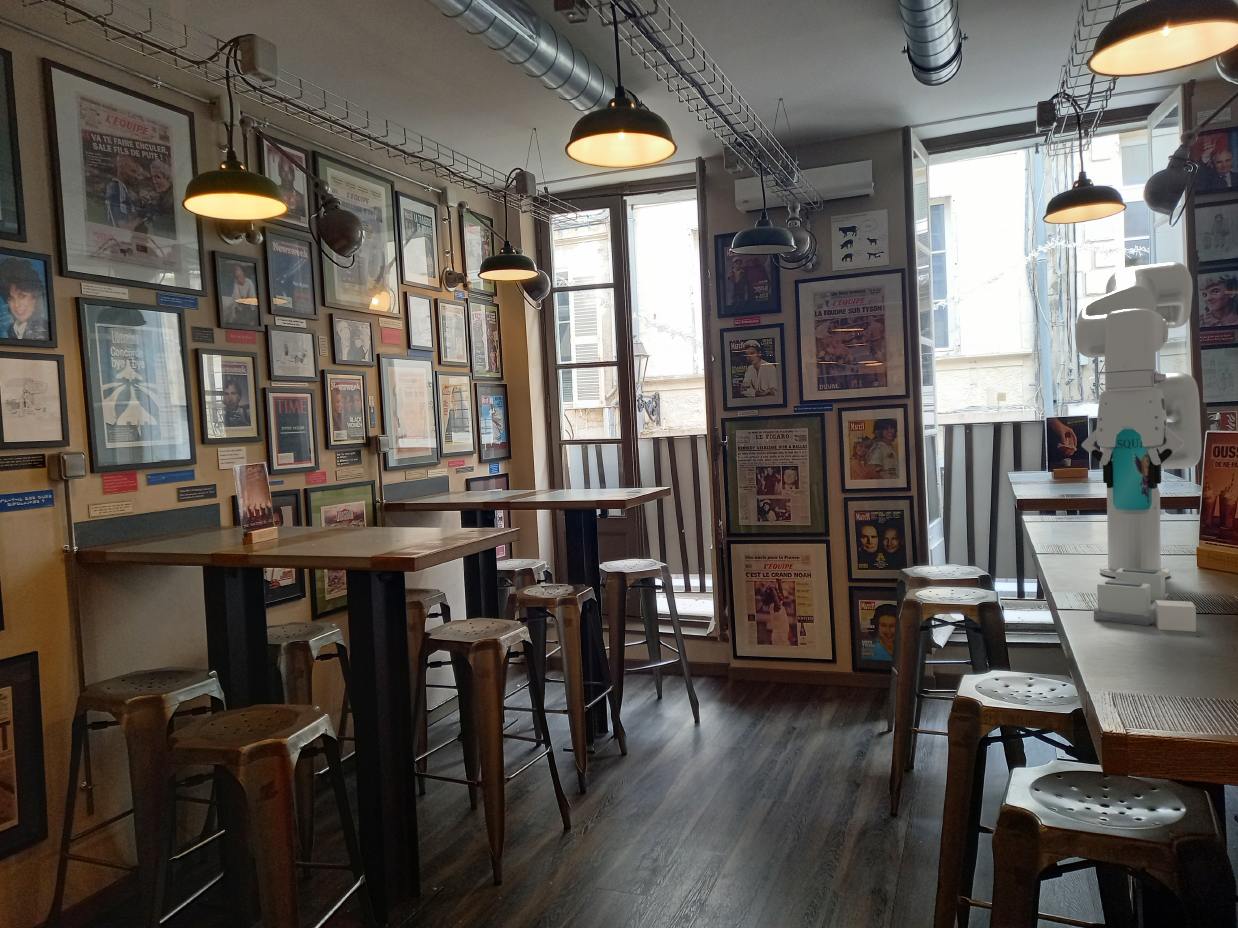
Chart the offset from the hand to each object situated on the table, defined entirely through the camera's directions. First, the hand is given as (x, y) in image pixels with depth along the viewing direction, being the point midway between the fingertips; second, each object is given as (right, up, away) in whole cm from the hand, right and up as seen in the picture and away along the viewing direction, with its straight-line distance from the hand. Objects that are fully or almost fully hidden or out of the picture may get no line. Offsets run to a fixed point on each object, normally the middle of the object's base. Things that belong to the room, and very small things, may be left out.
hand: (1131, 486), depth 148 cm
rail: (+1, -22, +1) cm, 22 cm away
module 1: (-4, -21, -4) cm, 21 cm away
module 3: (+1, -22, -10) cm, 25 cm away
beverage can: (0, -5, 0) cm, 5 cm away
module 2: (+5, -20, +6) cm, 21 cm away
